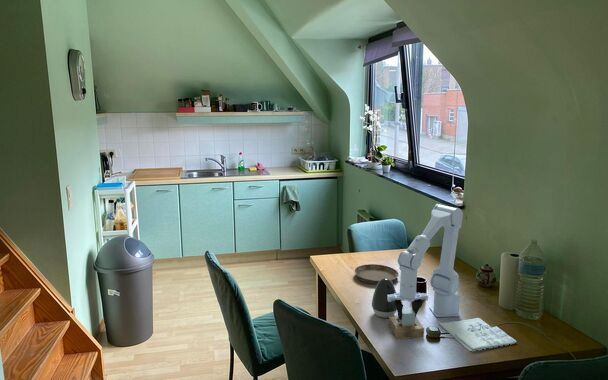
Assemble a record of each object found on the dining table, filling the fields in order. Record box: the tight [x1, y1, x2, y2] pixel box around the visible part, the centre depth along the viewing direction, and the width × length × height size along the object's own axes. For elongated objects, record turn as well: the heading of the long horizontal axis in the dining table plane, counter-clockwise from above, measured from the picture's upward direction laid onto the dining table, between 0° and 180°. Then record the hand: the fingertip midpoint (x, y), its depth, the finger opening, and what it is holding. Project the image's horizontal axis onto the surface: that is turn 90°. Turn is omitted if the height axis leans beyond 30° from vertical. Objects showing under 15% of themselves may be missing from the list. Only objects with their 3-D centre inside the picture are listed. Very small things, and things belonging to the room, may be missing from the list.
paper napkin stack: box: [438, 317, 517, 352], centre depth 166 cm, size 19×20×2 cm
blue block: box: [399, 306, 415, 326], centre depth 167 cm, size 4×4×5 cm
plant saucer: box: [354, 263, 399, 286], centre depth 217 cm, size 21×21×3 cm
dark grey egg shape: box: [371, 278, 397, 319], centre depth 179 cm, size 10×10×15 cm
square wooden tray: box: [388, 315, 425, 339], centre depth 168 cm, size 10×10×4 cm
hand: (406, 318), depth 167 cm, fingers closed on blue block, 4 cm apart
